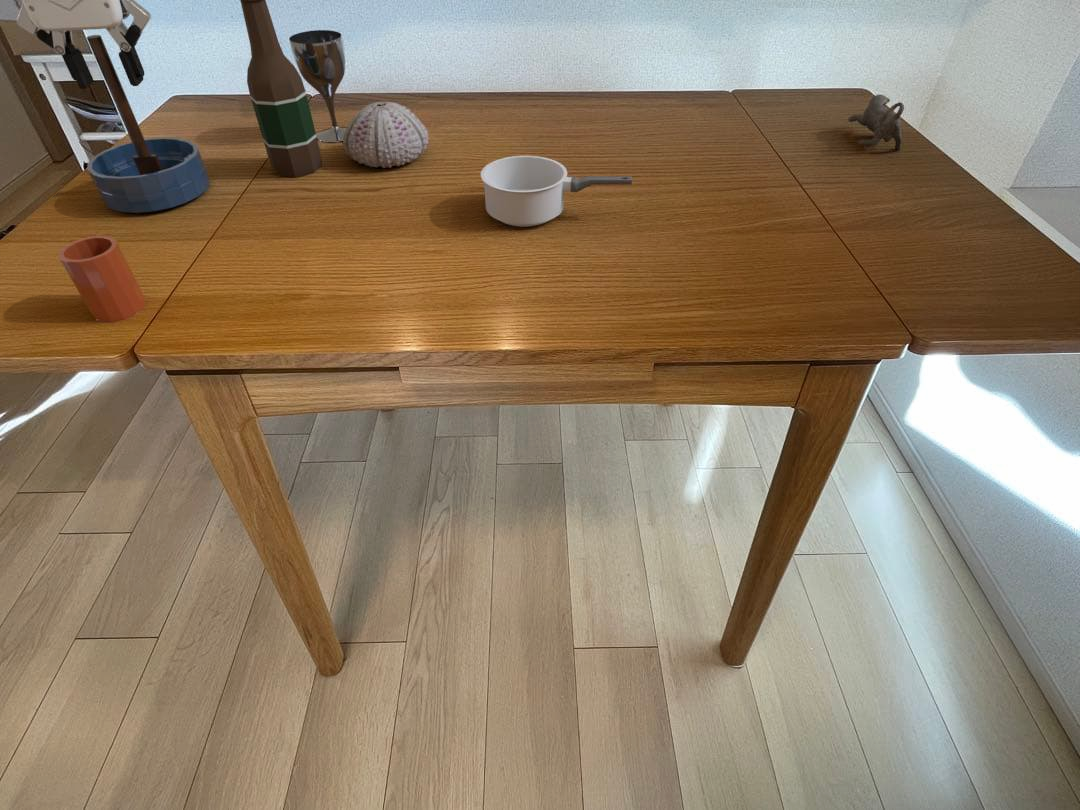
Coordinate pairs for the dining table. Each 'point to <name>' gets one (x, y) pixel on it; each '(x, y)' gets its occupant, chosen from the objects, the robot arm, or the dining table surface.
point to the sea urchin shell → (385, 135)
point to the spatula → (124, 108)
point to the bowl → (149, 176)
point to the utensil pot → (103, 278)
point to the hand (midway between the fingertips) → (112, 82)
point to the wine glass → (322, 70)
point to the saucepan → (532, 189)
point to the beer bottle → (279, 98)
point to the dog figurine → (881, 121)
